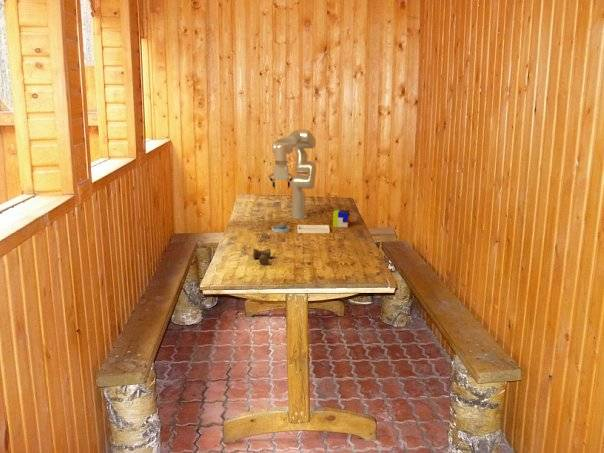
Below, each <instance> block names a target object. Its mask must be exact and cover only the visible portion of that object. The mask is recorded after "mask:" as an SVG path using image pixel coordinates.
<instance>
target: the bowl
mask: <svg viewBox="0 0 604 453" xmlns="http://www.w3.org/2000/svg"><path fill="white" fill-rule="evenodd" d="M290 228H291V227H290V226H288V225H286V228H285V229H280V228H279V225H274V226H271V232H273V233H276V234H277V233H279V234H280V233H281V234H282V233H283V234H284V233H289V232H290V230H291V229H290Z"/></svg>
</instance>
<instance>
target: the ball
mask: <svg viewBox="0 0 604 453" xmlns="http://www.w3.org/2000/svg"><path fill="white" fill-rule="evenodd" d="M278 226H279V228H280V229H285V228H286V226H287V224H286V222H284V221H281V222H280V223H279V224H278Z"/></svg>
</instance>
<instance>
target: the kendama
mask: <svg viewBox="0 0 604 453" xmlns="http://www.w3.org/2000/svg"><path fill="white" fill-rule="evenodd" d="M252 254H253V256H252V257H253V260H256V259H259V260H258V261H259V264H260V265H261V266H266V265H268V264H269V261H270V260H269V259H271V249H270V248H268V249H266V250H259V249H256V248H253V253H252Z"/></svg>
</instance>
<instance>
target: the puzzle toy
mask: <svg viewBox="0 0 604 453" xmlns="http://www.w3.org/2000/svg"><path fill="white" fill-rule="evenodd" d="M349 225H350V210H347V209H335V210H334V211H333V213H332V227H335V228H348V227H349Z"/></svg>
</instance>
